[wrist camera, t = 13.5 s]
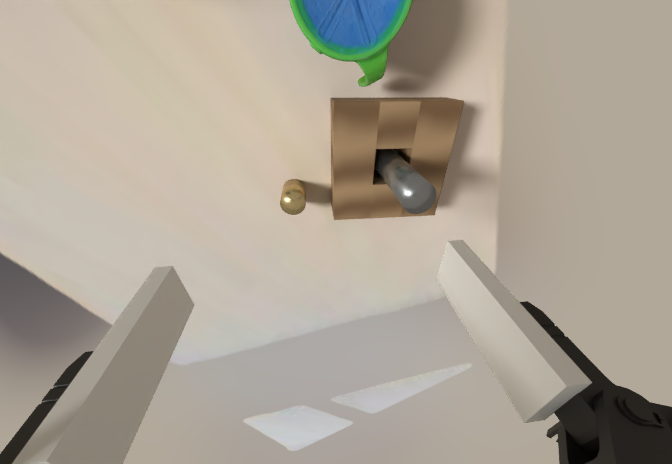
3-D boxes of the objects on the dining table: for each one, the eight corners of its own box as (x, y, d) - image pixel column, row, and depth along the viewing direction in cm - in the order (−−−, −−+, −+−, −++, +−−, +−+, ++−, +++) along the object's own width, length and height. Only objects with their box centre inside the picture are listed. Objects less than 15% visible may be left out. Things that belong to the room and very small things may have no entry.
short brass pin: (281, 179, 38) (278, 192, 34) (304, 178, 38) (304, 191, 34) (284, 200, 40) (281, 215, 36) (306, 199, 40) (306, 214, 36)
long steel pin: (371, 144, 36) (405, 183, 24) (395, 144, 37) (440, 181, 24) (369, 168, 38) (399, 214, 26) (392, 167, 39) (432, 213, 26)
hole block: (330, 98, 32) (334, 101, 28) (445, 97, 34) (464, 101, 29) (331, 204, 41) (334, 219, 37) (422, 201, 42) (434, 215, 38)
